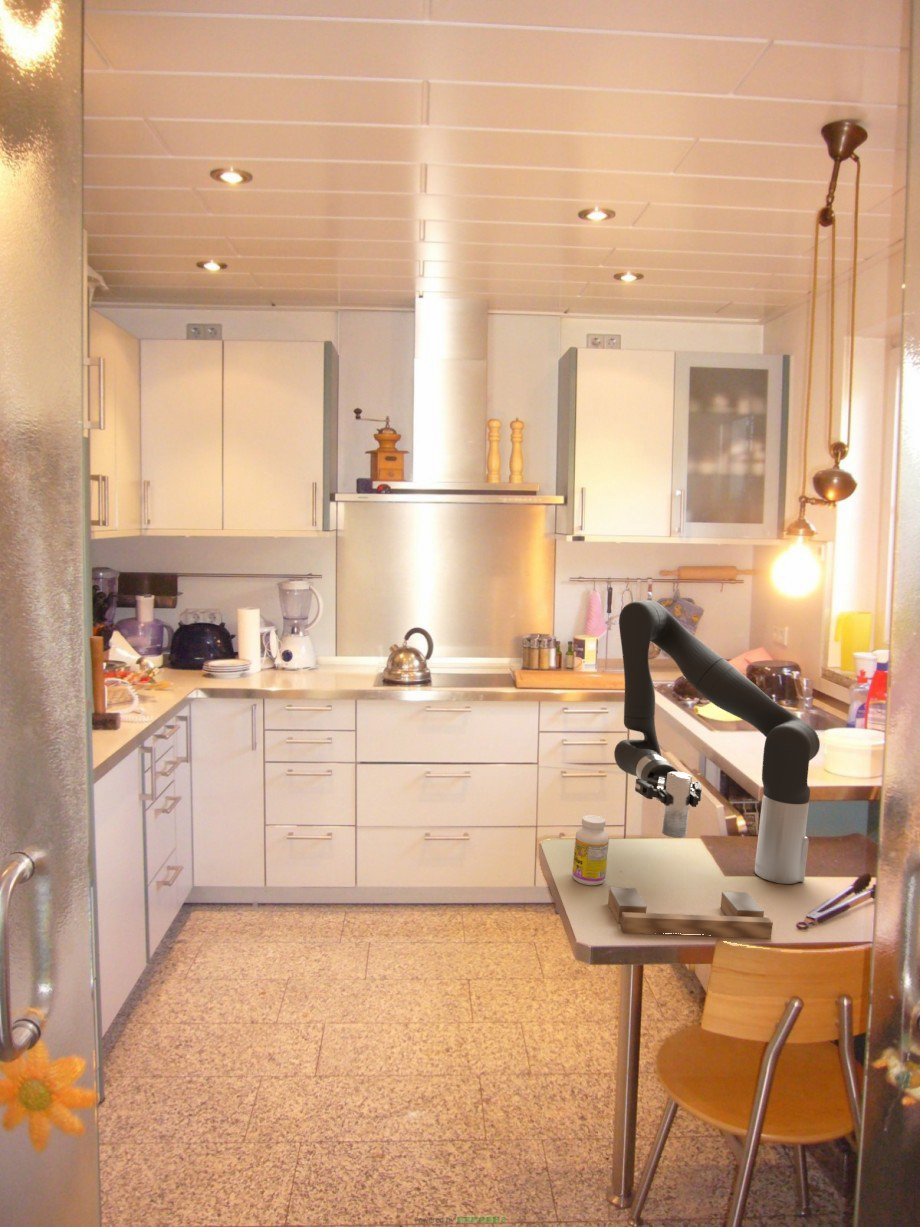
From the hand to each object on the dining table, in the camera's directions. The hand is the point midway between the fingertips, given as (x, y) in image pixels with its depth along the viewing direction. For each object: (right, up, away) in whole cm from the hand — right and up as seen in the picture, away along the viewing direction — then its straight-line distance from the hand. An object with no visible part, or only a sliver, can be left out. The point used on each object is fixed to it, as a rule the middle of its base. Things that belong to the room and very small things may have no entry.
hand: (681, 801), depth 176 cm
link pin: (-1, -7, +4) cm, 8 cm away
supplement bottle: (-18, -17, +6) cm, 25 cm away
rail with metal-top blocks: (-2, -20, -10) cm, 22 cm away
